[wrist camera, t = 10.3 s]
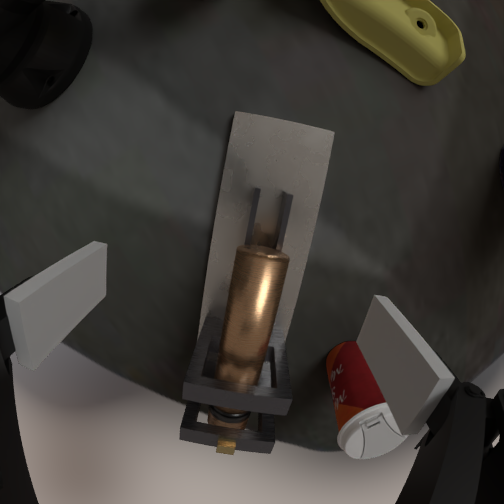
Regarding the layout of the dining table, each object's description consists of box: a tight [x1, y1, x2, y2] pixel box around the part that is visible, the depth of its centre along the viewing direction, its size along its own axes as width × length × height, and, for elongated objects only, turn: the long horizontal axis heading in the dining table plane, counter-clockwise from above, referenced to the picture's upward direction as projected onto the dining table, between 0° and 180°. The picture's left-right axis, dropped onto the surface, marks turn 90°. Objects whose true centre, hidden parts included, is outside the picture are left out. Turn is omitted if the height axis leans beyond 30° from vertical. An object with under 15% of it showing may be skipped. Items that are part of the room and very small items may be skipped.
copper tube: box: [208, 245, 290, 430], centre depth 27 cm, size 20×5×5 cm, turn 169°
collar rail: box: [180, 111, 334, 455], centre depth 26 cm, size 32×10×13 cm, turn 169°
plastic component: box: [320, 0, 466, 86], centre depth 22 cm, size 20×7×10 cm
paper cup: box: [326, 341, 408, 459], centre depth 28 cm, size 8×8×14 cm
